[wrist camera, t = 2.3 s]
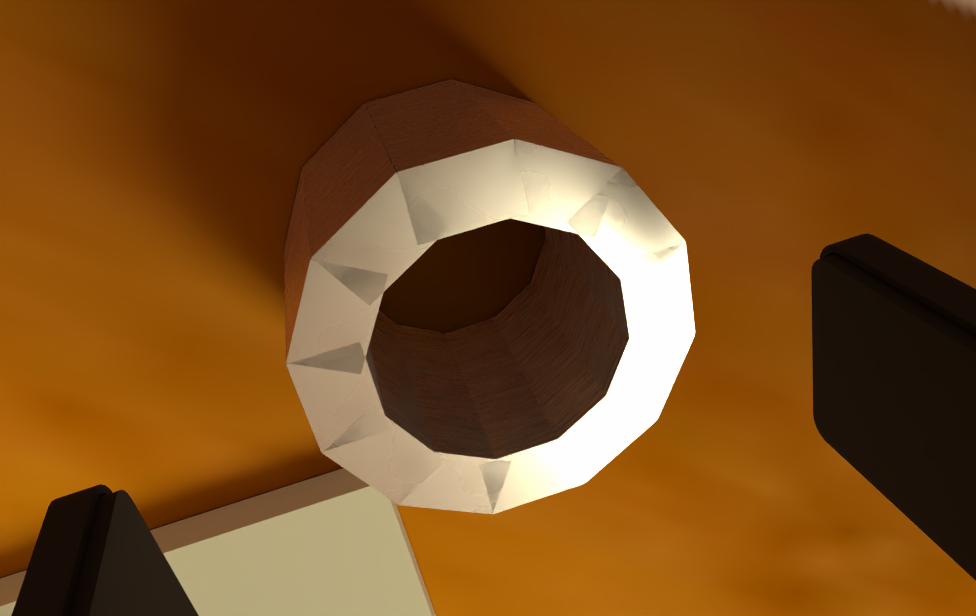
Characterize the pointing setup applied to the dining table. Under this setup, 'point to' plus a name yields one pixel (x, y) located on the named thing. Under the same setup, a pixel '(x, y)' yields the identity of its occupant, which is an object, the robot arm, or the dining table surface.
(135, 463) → the dining table surface
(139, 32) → the dining table surface
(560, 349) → the white hollow cylinder
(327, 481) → the square base peg stand
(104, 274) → the dining table surface
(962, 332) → the robot arm
